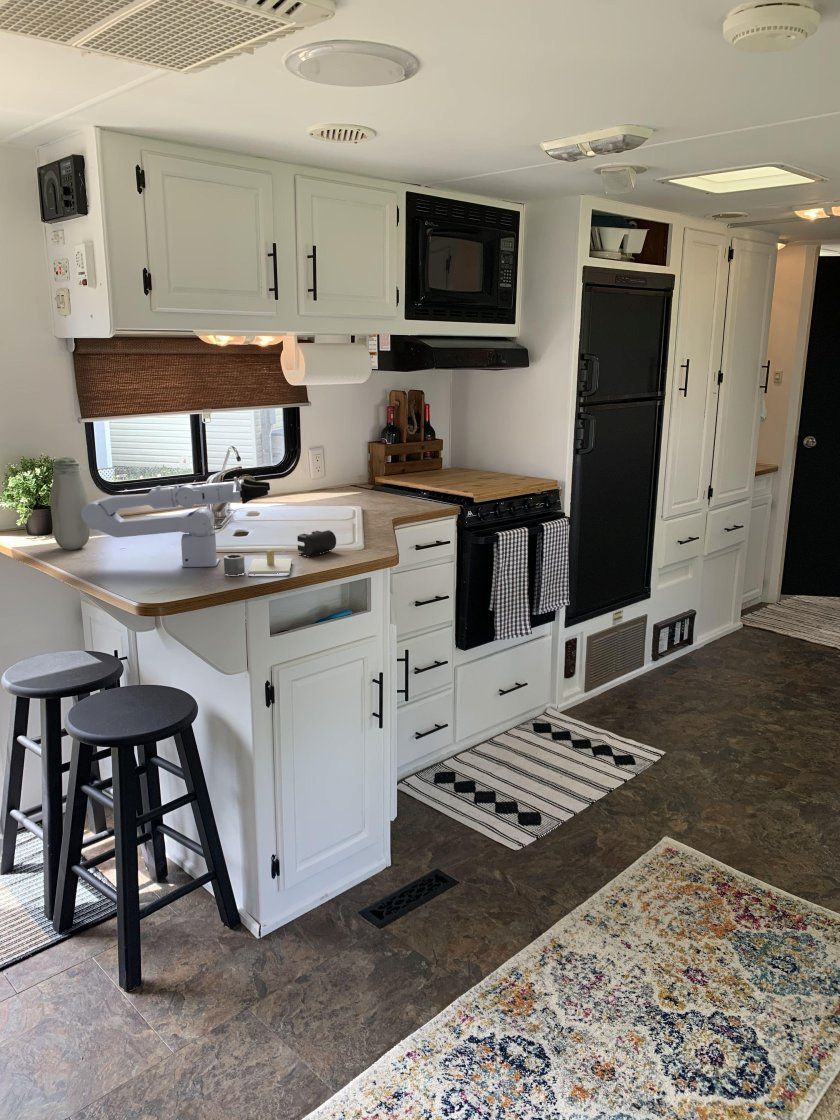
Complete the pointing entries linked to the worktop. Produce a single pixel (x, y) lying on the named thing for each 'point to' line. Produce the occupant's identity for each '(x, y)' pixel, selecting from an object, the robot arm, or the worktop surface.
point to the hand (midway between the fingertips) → (268, 488)
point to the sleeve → (234, 564)
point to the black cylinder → (316, 542)
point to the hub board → (270, 565)
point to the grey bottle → (68, 504)
